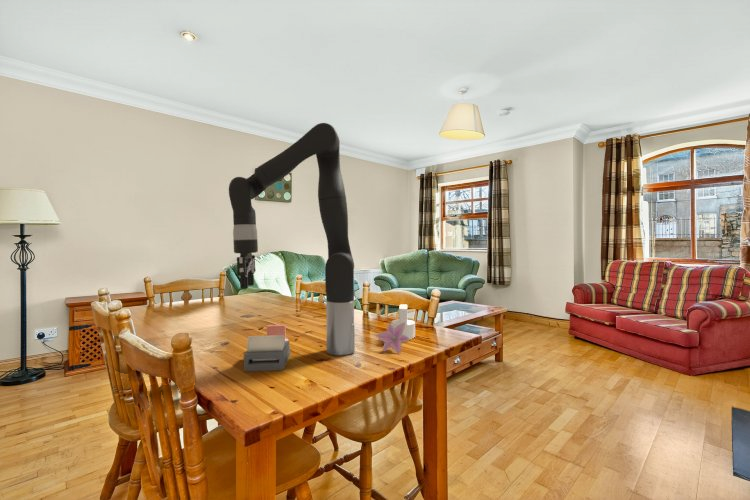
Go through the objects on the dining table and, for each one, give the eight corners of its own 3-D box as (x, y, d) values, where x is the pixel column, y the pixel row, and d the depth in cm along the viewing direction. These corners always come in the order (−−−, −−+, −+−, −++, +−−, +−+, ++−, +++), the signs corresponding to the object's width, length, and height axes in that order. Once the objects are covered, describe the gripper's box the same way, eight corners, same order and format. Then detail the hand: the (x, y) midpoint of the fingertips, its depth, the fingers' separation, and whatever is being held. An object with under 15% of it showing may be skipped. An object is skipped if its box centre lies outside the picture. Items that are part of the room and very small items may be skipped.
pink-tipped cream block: (288, 340, 124) (288, 324, 123) (278, 359, 104) (278, 341, 103) (266, 340, 123) (265, 324, 123) (251, 360, 103) (251, 341, 103)
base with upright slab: (392, 334, 140) (392, 304, 139) (414, 334, 139) (415, 304, 138) (390, 340, 131) (390, 308, 130) (415, 341, 130) (415, 309, 130)
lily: (373, 349, 124) (370, 331, 119) (395, 333, 130) (393, 314, 125) (395, 366, 116) (393, 348, 112) (417, 348, 122) (416, 330, 118)
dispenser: (290, 354, 116) (289, 326, 116) (283, 369, 102) (283, 339, 102) (255, 355, 115) (255, 327, 114) (244, 371, 101) (243, 340, 100)
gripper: (252, 238, 111) (254, 289, 111) (261, 238, 125) (263, 283, 125) (227, 239, 110) (229, 290, 110) (239, 238, 124) (241, 284, 125)
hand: (247, 287), depth 118 cm, fingers open, 8 cm apart
